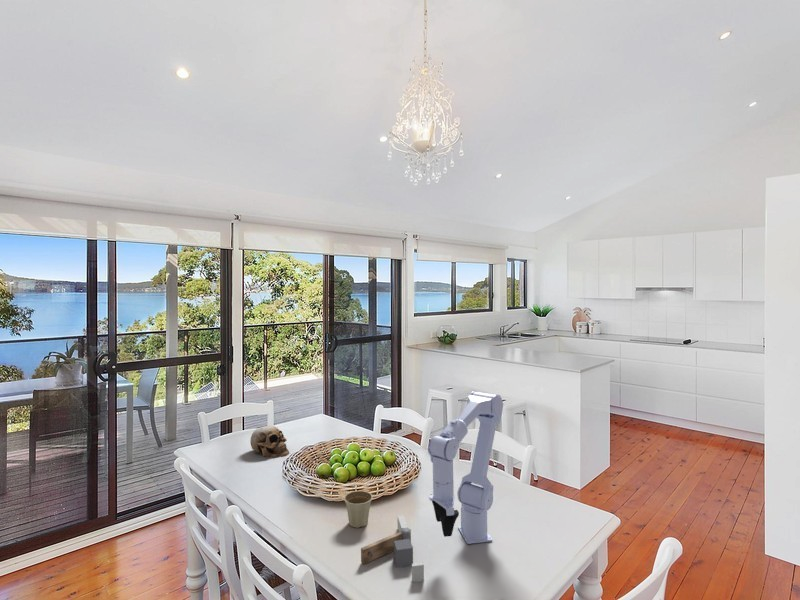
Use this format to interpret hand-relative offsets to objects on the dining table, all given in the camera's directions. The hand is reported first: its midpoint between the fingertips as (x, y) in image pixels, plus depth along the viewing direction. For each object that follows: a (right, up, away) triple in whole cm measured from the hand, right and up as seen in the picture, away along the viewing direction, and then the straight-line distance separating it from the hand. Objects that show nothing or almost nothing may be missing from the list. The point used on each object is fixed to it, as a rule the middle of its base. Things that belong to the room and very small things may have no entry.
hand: (443, 528), depth 120 cm
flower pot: (-26, -10, +22) cm, 35 cm away
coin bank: (-75, -10, +87) cm, 115 cm away
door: (-17, -10, +4) cm, 20 cm away
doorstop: (-11, -10, +1) cm, 15 cm away
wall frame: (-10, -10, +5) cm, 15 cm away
